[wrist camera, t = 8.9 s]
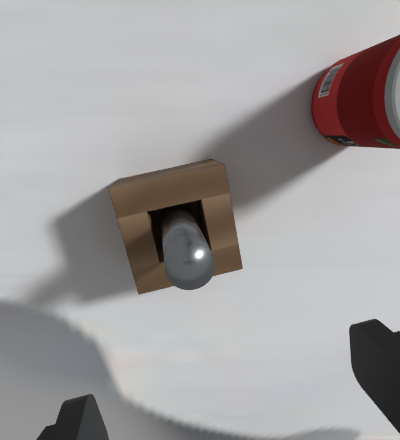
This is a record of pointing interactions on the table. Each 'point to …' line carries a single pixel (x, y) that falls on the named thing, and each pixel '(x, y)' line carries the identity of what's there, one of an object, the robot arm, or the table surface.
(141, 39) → the table surface
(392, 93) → the canned food
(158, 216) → the socket block
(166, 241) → the pin
